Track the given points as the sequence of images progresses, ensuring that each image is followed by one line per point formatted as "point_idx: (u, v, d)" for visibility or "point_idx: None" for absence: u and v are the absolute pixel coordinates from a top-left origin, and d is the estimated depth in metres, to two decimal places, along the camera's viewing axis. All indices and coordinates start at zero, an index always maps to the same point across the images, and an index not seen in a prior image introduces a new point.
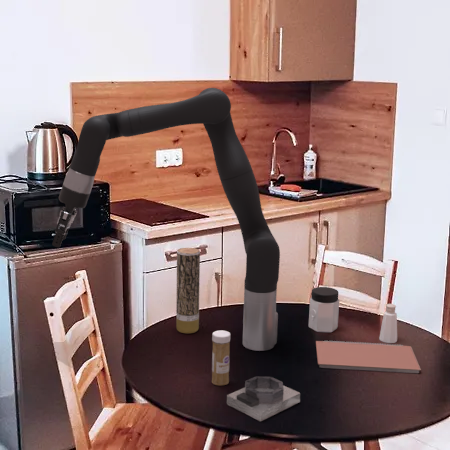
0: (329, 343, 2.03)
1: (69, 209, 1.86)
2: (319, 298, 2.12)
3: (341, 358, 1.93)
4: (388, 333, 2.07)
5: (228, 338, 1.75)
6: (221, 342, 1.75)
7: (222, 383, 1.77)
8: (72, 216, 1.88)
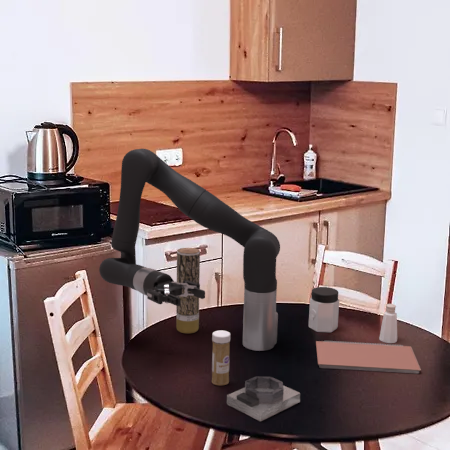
0: (329, 343, 2.03)
1: (154, 290, 1.87)
2: (319, 298, 2.12)
3: (341, 358, 1.93)
4: (388, 333, 2.07)
5: (228, 338, 1.75)
6: (221, 342, 1.75)
7: (222, 383, 1.77)
8: (164, 286, 1.87)
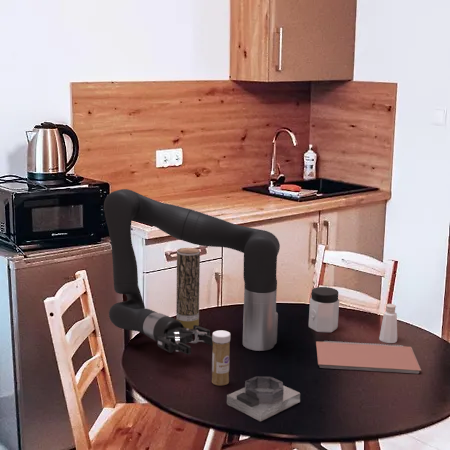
0: (329, 343, 2.03)
1: (165, 337, 1.87)
2: (319, 298, 2.12)
3: (341, 358, 1.93)
4: (388, 333, 2.07)
5: (228, 338, 1.75)
6: (221, 342, 1.75)
7: (222, 383, 1.77)
8: (174, 333, 1.87)
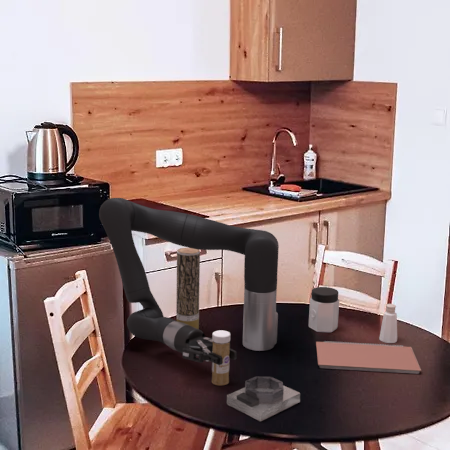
0: (329, 344, 2.02)
1: (186, 347, 1.81)
2: (319, 298, 2.12)
3: (341, 359, 1.92)
4: (388, 333, 2.07)
5: (228, 338, 1.75)
6: (221, 342, 1.75)
7: (222, 383, 1.77)
8: (197, 343, 1.81)
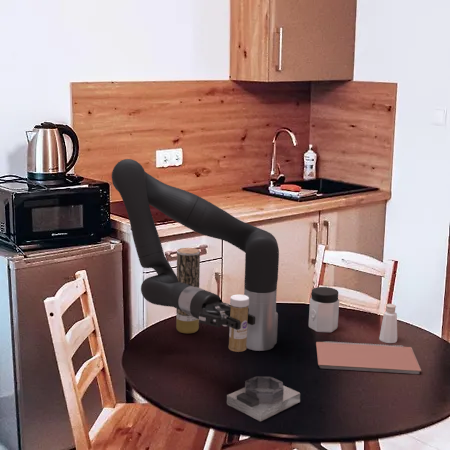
0: (329, 344, 2.02)
1: (203, 312, 1.74)
2: (319, 298, 2.12)
3: (341, 359, 1.92)
4: (388, 333, 2.07)
5: (247, 302, 1.68)
6: (239, 306, 1.67)
7: (239, 349, 1.70)
8: (214, 308, 1.73)
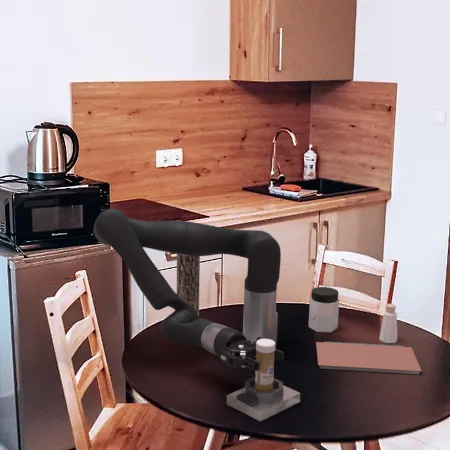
0: (329, 344, 2.02)
1: (228, 351, 1.70)
2: (319, 298, 2.12)
3: (341, 359, 1.92)
4: (388, 333, 2.07)
5: (273, 347, 1.64)
6: (266, 352, 1.64)
7: None
8: (238, 347, 1.69)
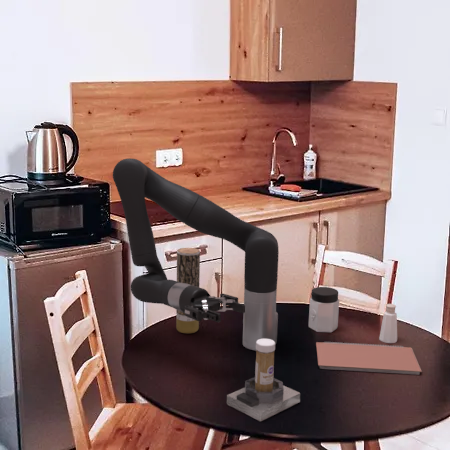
0: (329, 344, 2.02)
1: None
2: (319, 298, 2.12)
3: (341, 359, 1.92)
4: (388, 333, 2.07)
5: (273, 347, 1.65)
6: (266, 351, 1.64)
7: None
8: (201, 302, 1.79)
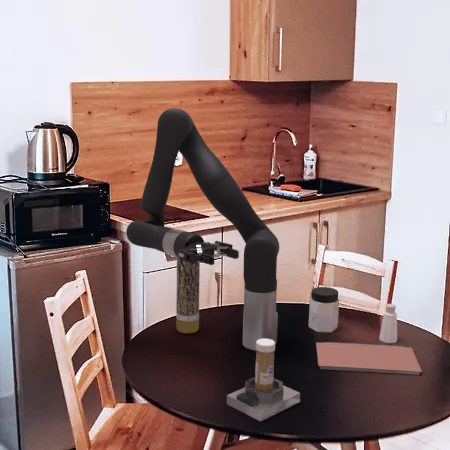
0: (329, 345, 2.02)
1: None
2: (319, 298, 2.12)
3: (341, 360, 1.92)
4: (388, 333, 2.07)
5: (273, 347, 1.65)
6: (266, 351, 1.64)
7: None
8: (196, 246, 1.80)
